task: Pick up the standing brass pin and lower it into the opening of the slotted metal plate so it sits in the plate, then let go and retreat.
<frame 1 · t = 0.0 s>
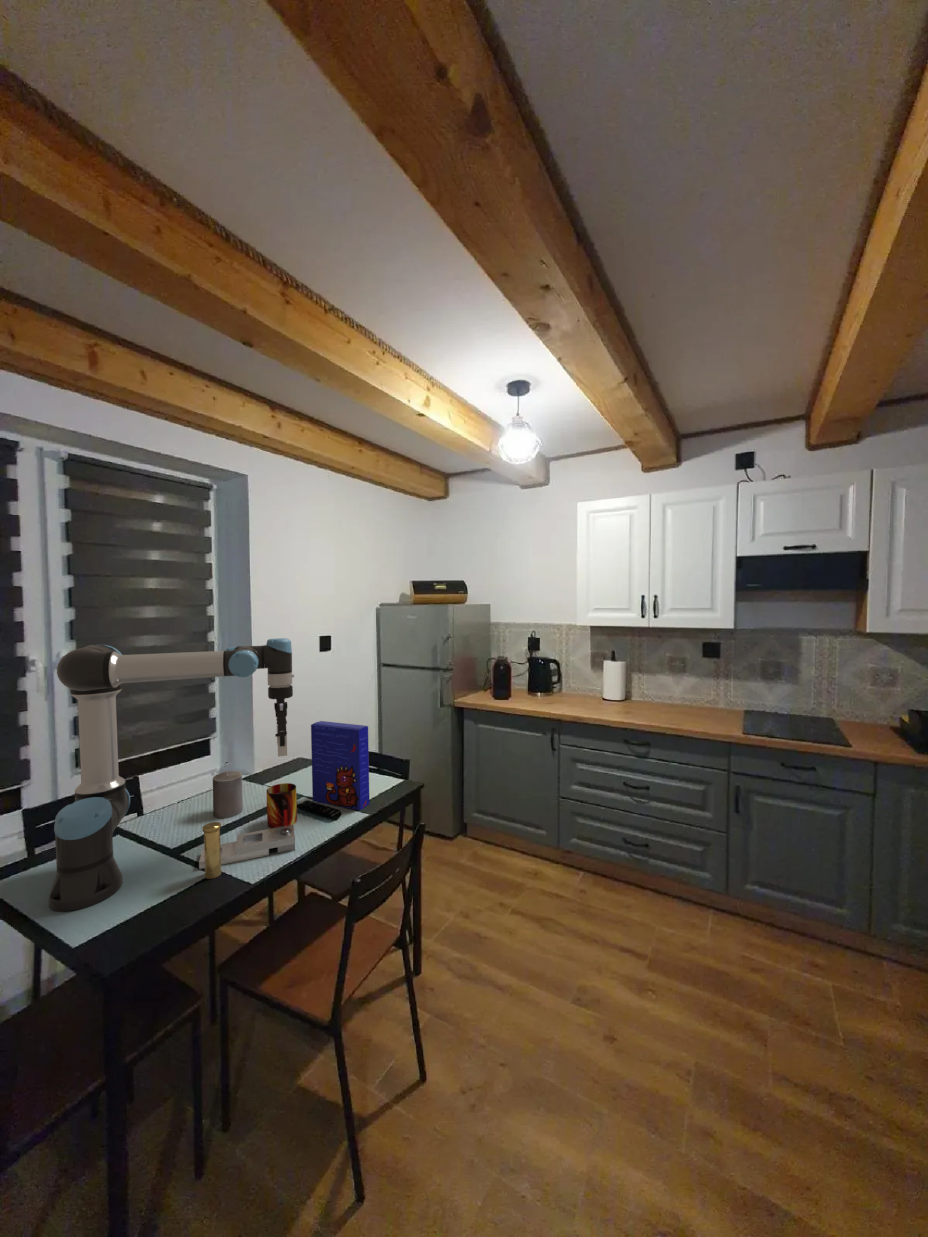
hand: (281, 749, 154), 28 cm above the table, fingers open, 13 cm apart
brass pin: (213, 874, 132), on the table
cereal box: (340, 803, 179), on the table
mug: (285, 824, 162), on the table
slotted metal plate: (253, 851, 144), on the table
pillar candle: (228, 813, 171), on the table
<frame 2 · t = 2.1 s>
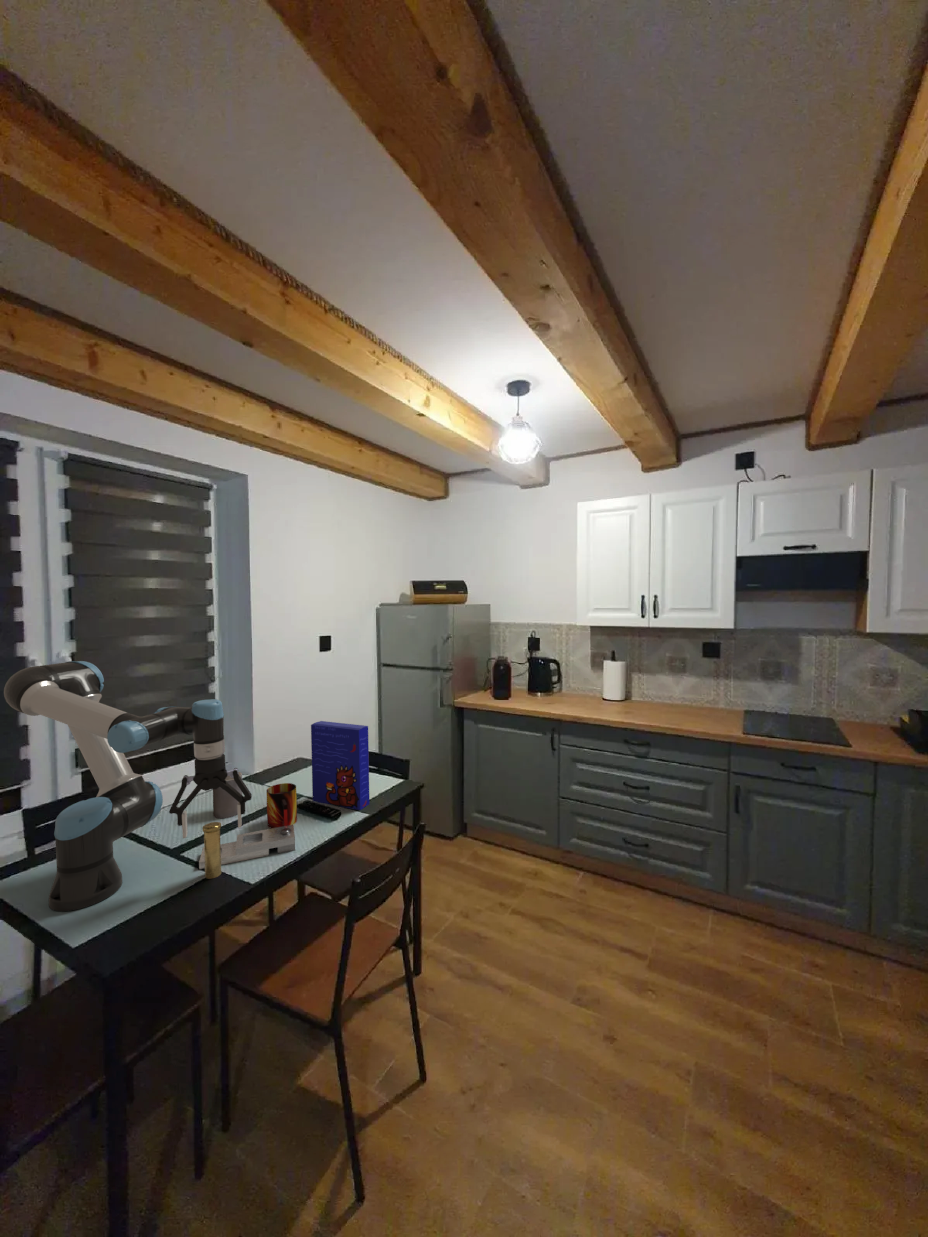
hand: (213, 830, 131), 13 cm above the table, fingers open, 13 cm apart
nothing on the table moved.
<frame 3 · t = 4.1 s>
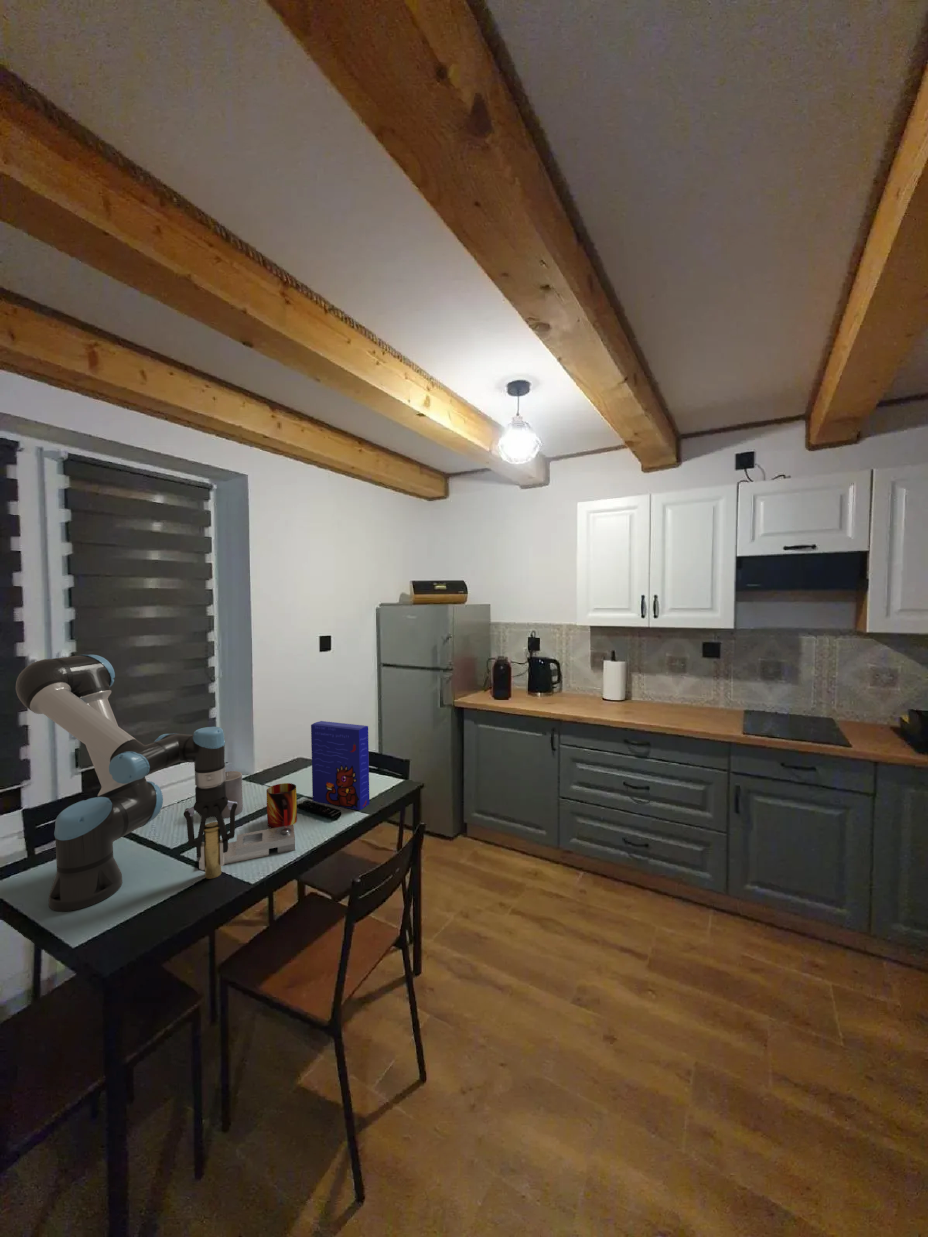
hand: (213, 865, 132), 3 cm above the table, fingers closed on brass pin, 4 cm apart
brass pin: (213, 874, 132), on the table, touching gripper
everything else where it was.
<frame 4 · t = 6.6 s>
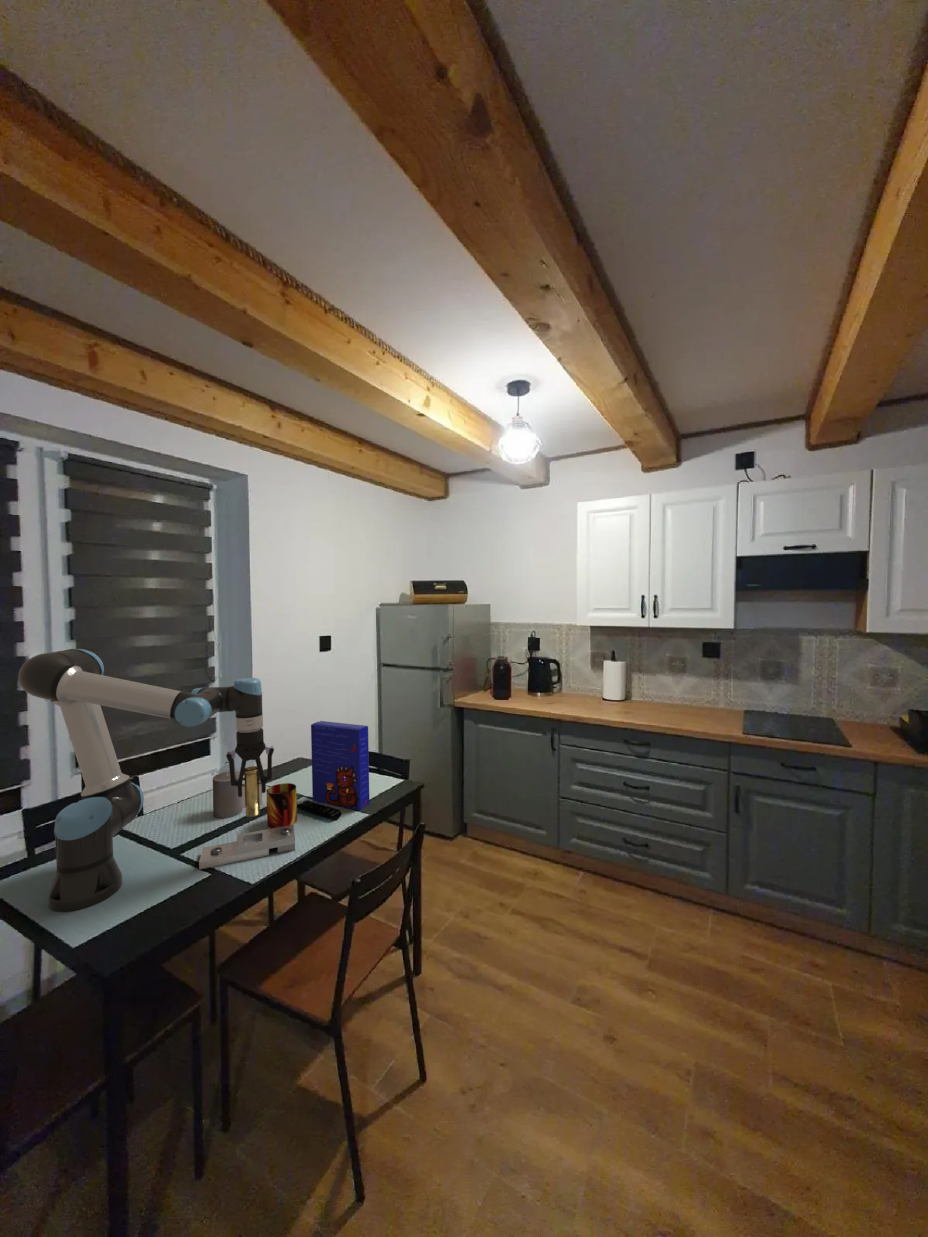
hand: (252, 804, 144), 15 cm above the table, fingers closed on brass pin, 4 cm apart
brass pin: (252, 813, 144), point 12 cm above the table, touching gripper
everything else where it was.
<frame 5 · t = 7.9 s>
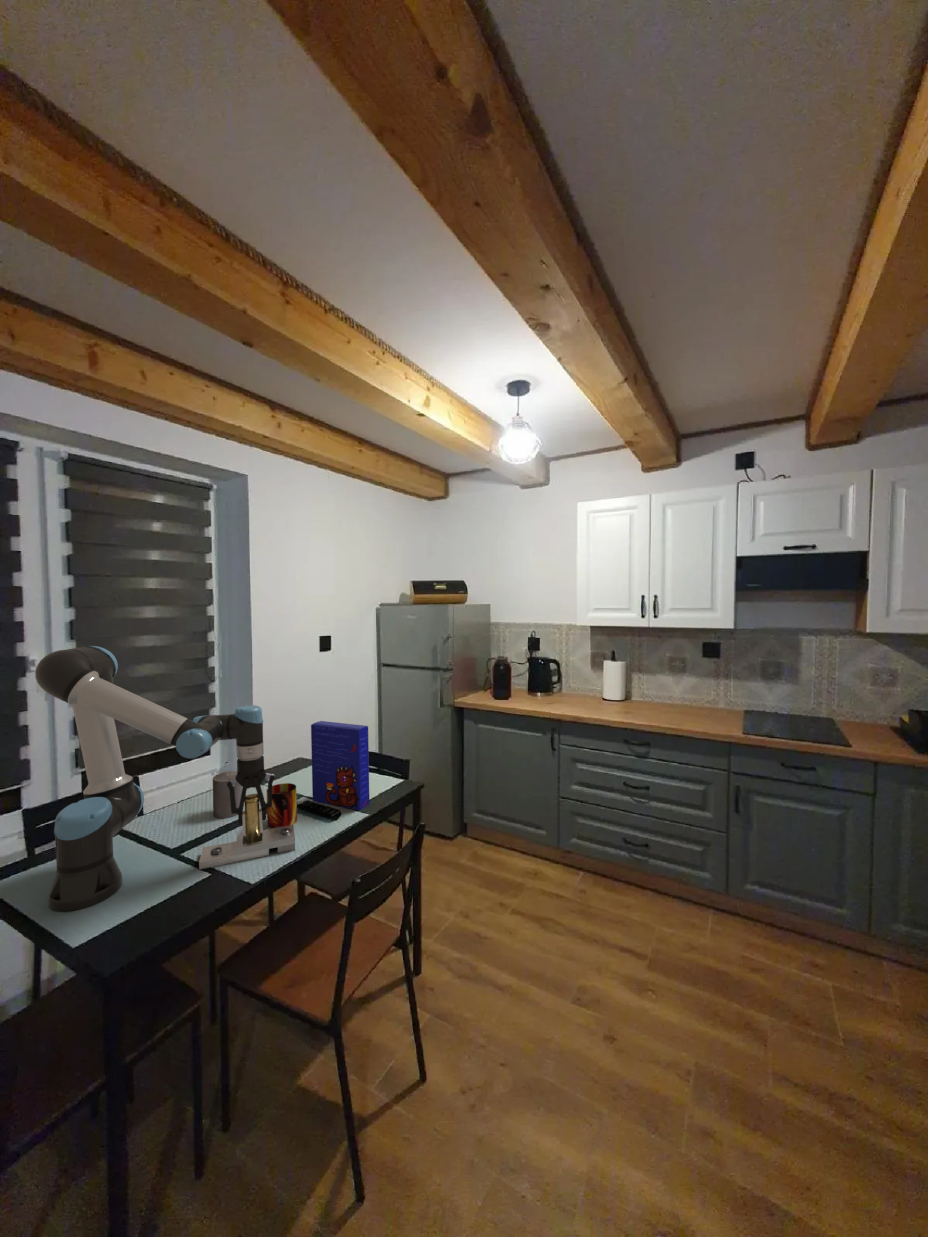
hand: (252, 832, 144), 6 cm above the table, fingers closed on brass pin, 4 cm apart
brass pin: (253, 841, 144), point 3 cm above the table, touching gripper
everything else where it was.
when the fingers open (5 cm above the table, at t = 9.0 s): brass pin drops 2 cm, resting in slotted metal plate.
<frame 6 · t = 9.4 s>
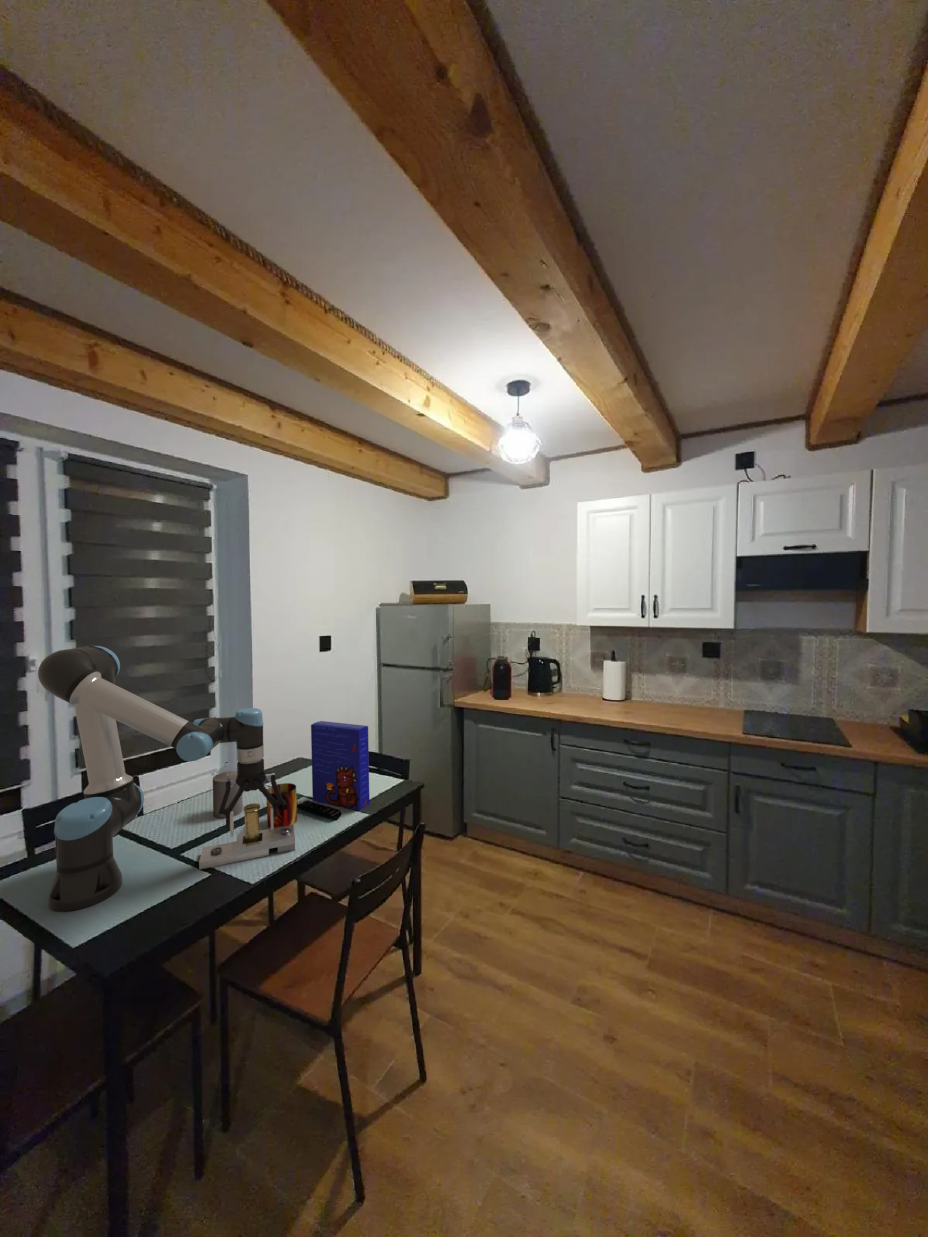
hand: (252, 831, 144), 6 cm above the table, fingers open, 10 cm apart
brass pin: (252, 851, 144), resting in slotted metal plate
everything else where it was.
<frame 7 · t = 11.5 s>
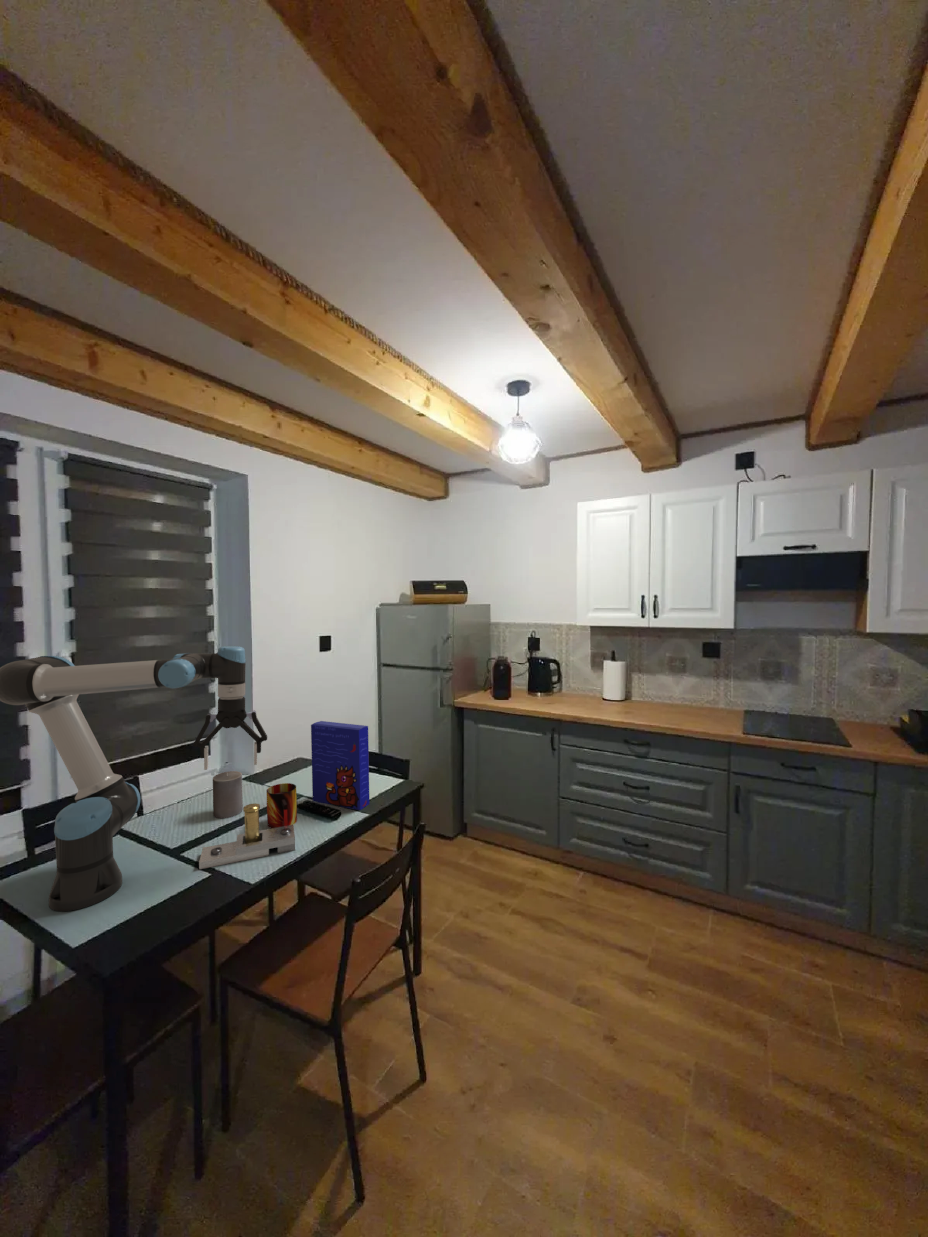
hand: (231, 766, 144), 26 cm above the table, fingers open, 13 cm apart
nothing on the table moved.
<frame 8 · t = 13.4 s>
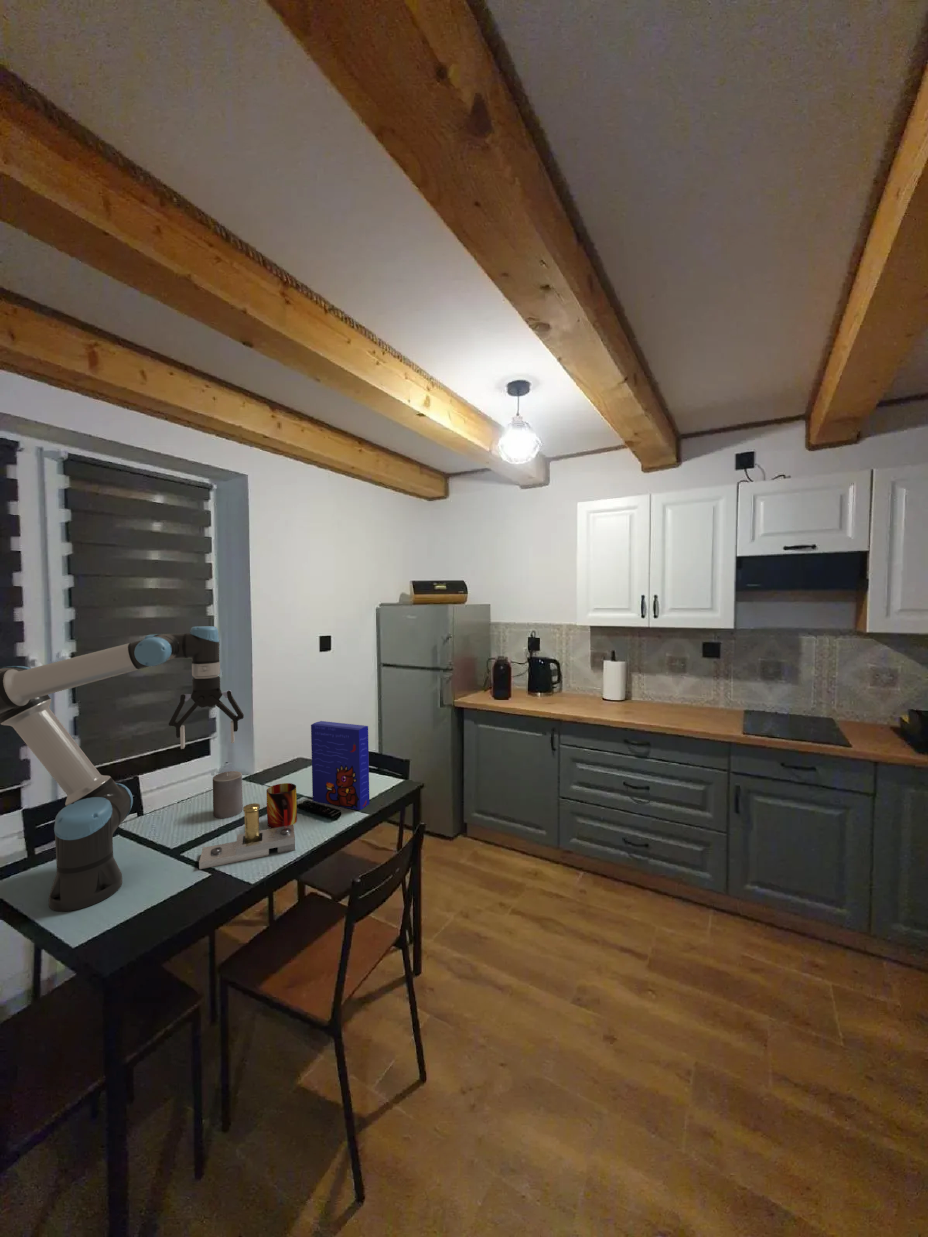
hand: (208, 744, 145), 33 cm above the table, fingers open, 13 cm apart
nothing on the table moved.
at the end: brass pin 0.1 cm off-centre on the slotted metal plate, point 0.0 cm above the slotted metal plate's base; brass pin tilted 0°; the gripper is holding nothing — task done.
